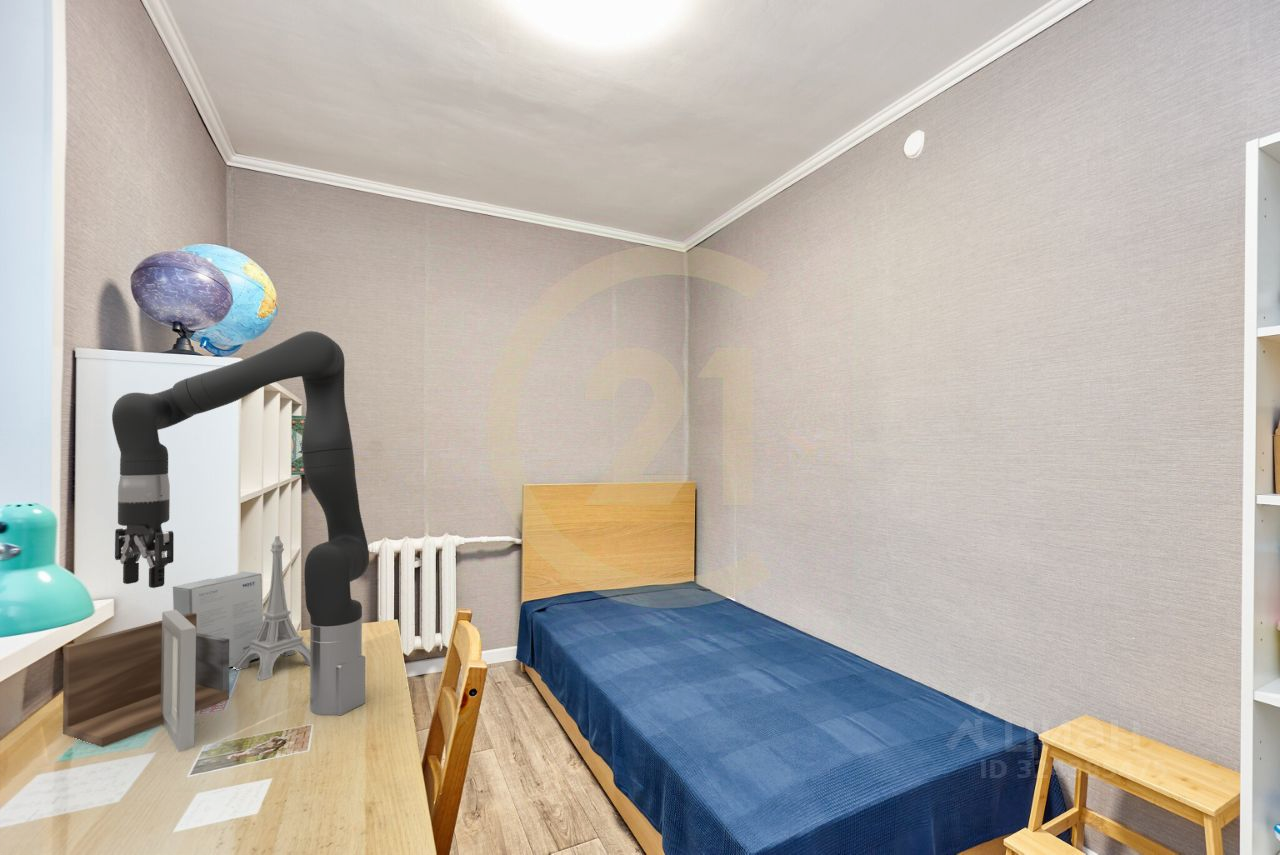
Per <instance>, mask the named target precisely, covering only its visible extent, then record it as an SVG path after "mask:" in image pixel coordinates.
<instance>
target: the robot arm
mask: <svg viewBox="0 0 1280 855" xmlns="http://www.w3.org/2000/svg"><path fill="white" fill-rule="evenodd" d="M345 364H346V363H345V356H344V352H343V349H342V347H340V345H339V344H338V343H337V342H336V341H335V340H333V339H332V338H331V337H329V336H328V335H326V334H324V333H323V332H318V331H313V330H310V331H303V332H300V333H299V334H296V335H294V336H292V337H290V338H287V339H286V340H284V341H282V342H280V343H278V344H276V345H273V347H270V348H268V349H265V350H263V351H261V352H259V353H257V354H254V355H252V356H249V357H247V358H244V359H242V360H240V361H237V362H233V363H231V364H228V365H224V366H222V367H218V368H216V369H215V368H214V369H212V370H209V371H205V372H203V373H200V374H196V375H193V376H190V377H187V378H184V379H182V380H179V381H178V382H175V383H174V385H173V386H172V387H171V388H168V389H165V390H162V391H160V392H155V393H145V392H144V393H143V392H129V393H126V394H123V395H122V396H121V397H119V398H118V399H117V400H116V401H115V403H114V405H113V408H112V412H111V418H112V419H111V421H112V422H111V423H112V427H113V430H114V436H115V439H116V443H117V446H118V449H119V451H120V460H119V481H118V488H117V524H118V525H119V526H122V527H123V528H117V529H115V532H114V534H115V535H114V538H115V539H114V559H115V561H119V563H120V564H121V565H122V582H123V584H124V585H129V584H135V583H138V582H139V580H140V578H139V577H140V576H139V575H140V563H139V561H140V558H141V557H142V559H146V561H147V564H148V567H149V568H148V587H149V588H150V589H151V588H152V589H156V588H160V587H163V586H164V585H165V572H166V571H165V567H166V566H168V564H173V563H174V550H175V549H174V548H175V547H174V541H175V540H174V535H175V534H174V532H173V530H168V531H163V529H162V525H163V524H164V523H167V522H169V520H170V509H171V508H170V507H171V506H170V504H171V503H170V500H171V499H170V497H171V496H170V495H171V494H170V493H171V492H170V491H171V489H170V486H171V485H170V479H169V451H168V448H167V447H166V446H165V445H164V444H162V443H161V441H160V438H159V431H158V430H163V429H166V428H169V427H172V426H175V425H177V424H179V423H182V422H184V421H186V420H188V419H189V418H192V417H193V416H196V415H199V414H202V413H206V412H209V411H211V410H214V409H217V408H218V409H219V408H220V407H223V406H227V405H229V404H232V403H235V402H236V401H239V400H241V399H243V398H245V397H246V396H248V395H250V394H252V393H253V392H254V393H255V392H256V391H258V390H259V389H261V388H262V389H263V387H266V386H268V385H271V384H274V383H277V382H280V381H284V380H289V379H294V378H295V379H296V378H299V377H300V378H301V379H302V383H303V387H304V388H303V389H304V394H305V400H306V403H305V404H306V412H305V419H304V425H303V430H302V434H301V435H302V436H301V454H302V463H303V465H302V466H303V472H304V477H305V480H306V483H307V485H308V487H309V489H310V490H311V492H312V494H313V495H314V497H315V499H316V500H317V501H318V503H319V505H320V507H321V508H322V511H323V513H324V516H325V520H326V525H327V526H326V527H327V536H328V541H325V542H323V543H319V544H317V545H315V546H314V547H312V548H311V550H310V551H309V552H308V554H307V555H306V558H305V562H304V572H303V574H304V594H305V595H304V596H305V597H304V598H305V607H306V610H307V612H308V614H309V616H310V618H309V619H310V624H309V625H310V627H309V628H310V630H309V631H310V638H309V639H310V640H309V641H310V643H309V644H310V645H309V649H310V665H309V667H310V668H309V682H310V683H309V694H310V695H309V696H310V697H309V701H310V702H309V704H310V705H309V710H310V712H311V713H312V714H314V715H316V716H324V717H325V716H342V715H344V714H346V713H348V712H350V711H351V710H354V709H357V708H358V707H360V706H362V705H363V704H366V656H365V655H363V653H362V648H363V645H362V644H363V643H362V642H363V640H362V638H363V635H362V634H363V631H362V630H363V628H362V627H363V622H362V621H363V607H362V603H361V602H360V601H359V600H356V599H352V595H351V593H352V592H351V583H352V582H353V581H355V580H357V579H360V578H361V577H362V576H363V575H364V574H365V573H366V572H367V570H368V567H369V564H370V563H369V562H370V552H369V551H370V550H369V546H368V541H367V537H366V532H365V528H364V525H363V523H364V522H363V519H362V515H361V510H360V501H359V494H358V487H357V486H358V485H357V478H356V466H355V465H356V464H355V456H354V449H353V448H354V446H353V442H352V441H353V440H352V435H351V427H350V421H349V416H348V412H347V407H346V400H345V397H346V396H345V366H346V365H345ZM165 553H166V555H165Z"/></svg>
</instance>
